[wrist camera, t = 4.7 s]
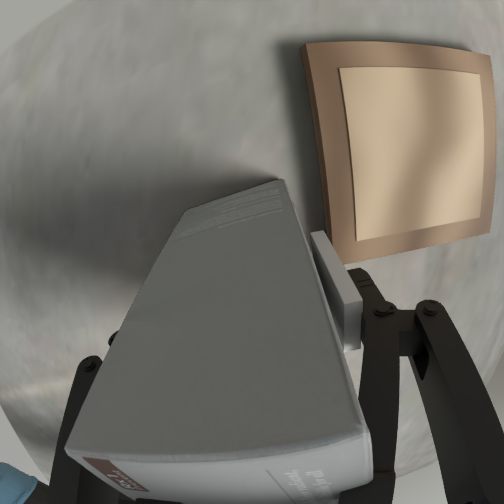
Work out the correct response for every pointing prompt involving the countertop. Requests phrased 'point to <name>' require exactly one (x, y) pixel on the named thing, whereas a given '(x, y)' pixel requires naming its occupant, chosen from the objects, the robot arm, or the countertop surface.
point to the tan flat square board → (402, 144)
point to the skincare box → (228, 370)
